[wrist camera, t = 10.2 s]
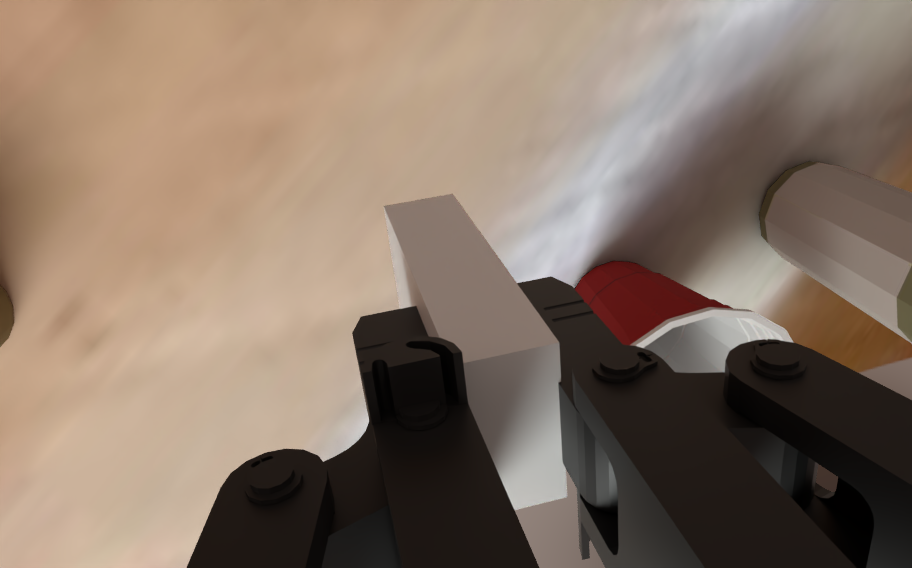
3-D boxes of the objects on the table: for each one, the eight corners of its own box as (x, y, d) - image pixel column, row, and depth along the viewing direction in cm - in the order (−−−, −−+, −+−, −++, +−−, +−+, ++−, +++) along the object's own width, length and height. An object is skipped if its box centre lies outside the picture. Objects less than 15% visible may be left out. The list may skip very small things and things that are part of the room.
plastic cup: (499, 276, 45) (570, 382, 34) (657, 191, 45) (778, 270, 34) (562, 403, 50) (641, 529, 39) (704, 327, 50) (822, 432, 39)
